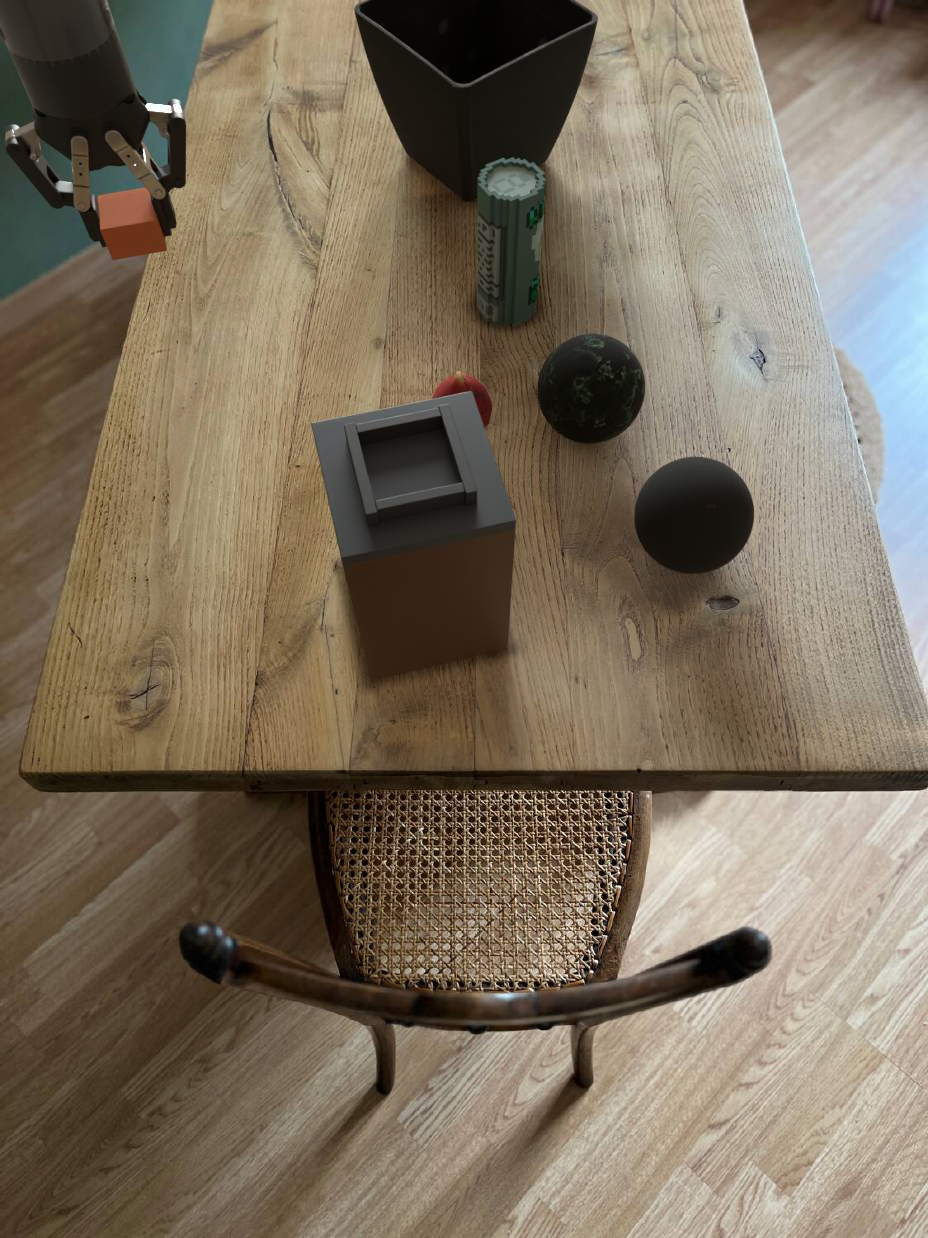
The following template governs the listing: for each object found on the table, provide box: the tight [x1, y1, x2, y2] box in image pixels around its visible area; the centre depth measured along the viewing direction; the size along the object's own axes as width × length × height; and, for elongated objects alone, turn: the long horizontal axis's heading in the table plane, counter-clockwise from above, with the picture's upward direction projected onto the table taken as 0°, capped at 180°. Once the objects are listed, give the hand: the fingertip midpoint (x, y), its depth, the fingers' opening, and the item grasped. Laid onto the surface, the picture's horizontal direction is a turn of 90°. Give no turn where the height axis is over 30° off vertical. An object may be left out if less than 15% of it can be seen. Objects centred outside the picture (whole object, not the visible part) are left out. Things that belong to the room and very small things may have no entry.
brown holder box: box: [310, 391, 517, 682], centre depth 72 cm, size 12×12×20 cm
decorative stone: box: [536, 332, 646, 445], centre depth 86 cm, size 10×10×10 cm
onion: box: [431, 370, 493, 429], centre depth 86 cm, size 6×6×8 cm
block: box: [96, 187, 168, 261], centre depth 78 cm, size 5×5×3 cm
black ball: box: [633, 456, 755, 575], centre depth 79 cm, size 10×10×10 cm
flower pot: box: [353, 0, 599, 203], centre depth 103 cm, size 19×19×17 cm
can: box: [476, 157, 547, 327], centre depth 92 cm, size 6×6×15 cm
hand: (136, 234), depth 79 cm, fingers closed on block, 4 cm apart
